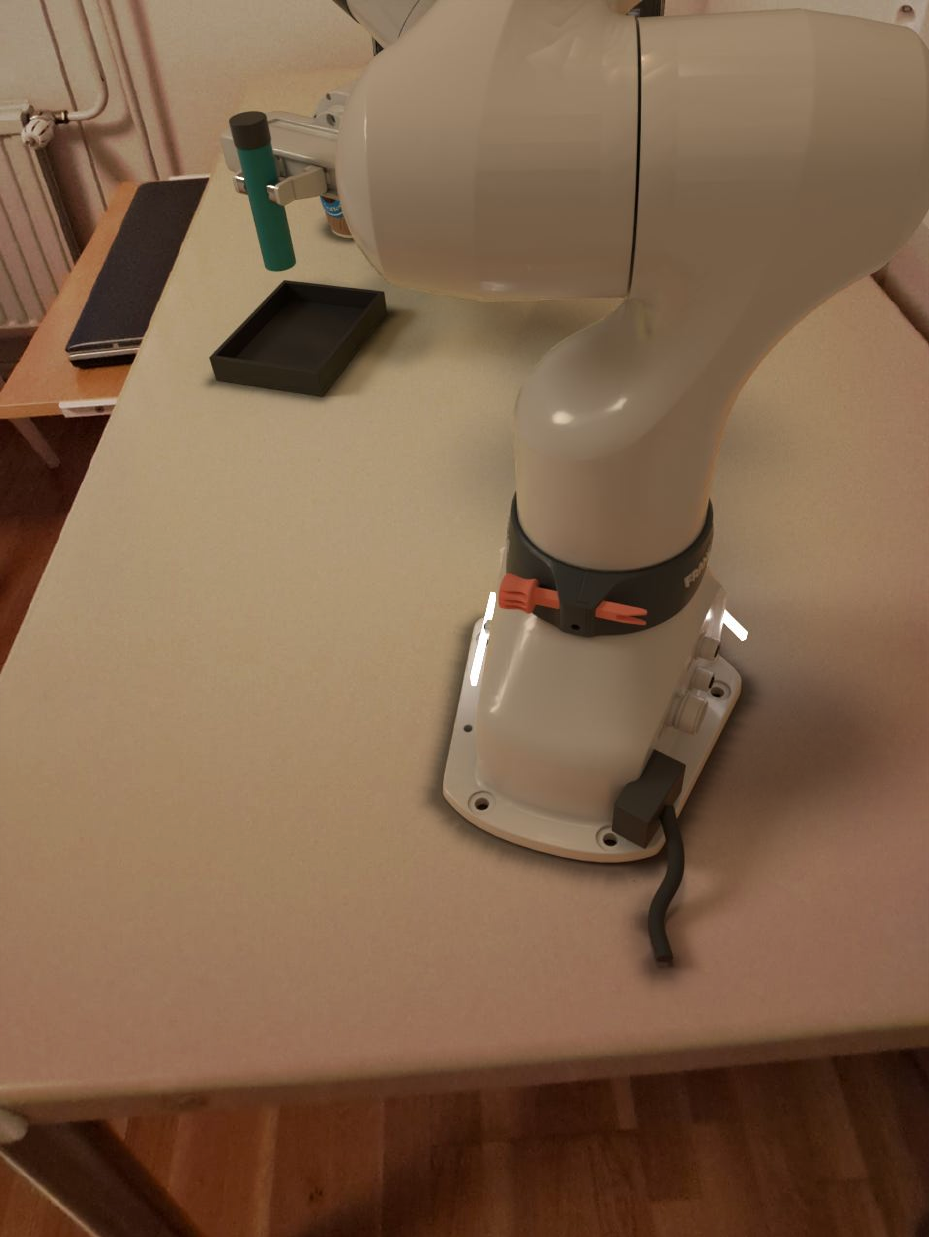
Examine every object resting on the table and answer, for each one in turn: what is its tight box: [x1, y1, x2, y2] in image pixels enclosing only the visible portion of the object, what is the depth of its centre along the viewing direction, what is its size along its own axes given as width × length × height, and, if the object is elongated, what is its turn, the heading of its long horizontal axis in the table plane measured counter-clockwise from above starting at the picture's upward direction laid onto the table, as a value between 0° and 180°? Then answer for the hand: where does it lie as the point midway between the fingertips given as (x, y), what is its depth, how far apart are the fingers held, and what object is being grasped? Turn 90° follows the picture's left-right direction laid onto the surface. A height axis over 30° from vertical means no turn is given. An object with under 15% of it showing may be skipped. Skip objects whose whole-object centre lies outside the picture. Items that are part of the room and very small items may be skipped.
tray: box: [208, 279, 388, 397], centre depth 96 cm, size 16×12×3 cm
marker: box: [228, 110, 297, 273], centre depth 84 cm, size 3×3×13 cm
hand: (256, 190), depth 83 cm, fingers closed on marker, 3 cm apart
